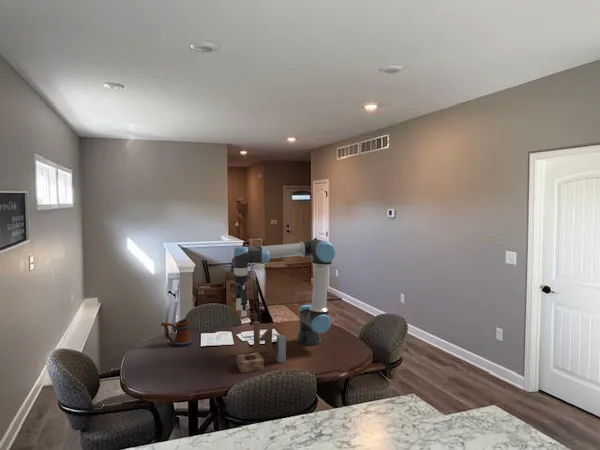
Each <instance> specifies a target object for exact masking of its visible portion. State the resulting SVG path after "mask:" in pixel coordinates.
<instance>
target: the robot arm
mask: <svg viewBox="0 0 600 450" xmlns="http://www.w3.org/2000/svg"><path fill="white" fill-rule="evenodd" d="M299 256H300V257H301V258H306V257H307V258H311V259H312V260H311V264H312V265H313V280H312V294H311V295H312V298H311V304H303V305H302V304H301V306H300V307H299V311H298V312H299V314H298V315H299V317H298V318H299V319H298V321H299V326H298V327H299V328H298V332H297V336H296V341H295V342H296V343H297V344H299V345H303V346H315V345H319V344H320V343H321V335H320V334H324V333H326V332H327V331H328V330H329V329H330V328H331V324H332V323H331V318H330V316H329V308H328V307H327V298H328V297H327V296H328V283H329V270H330V269H329V268H330V266H331V265H333V264H332V261H333V260H334V259H335V257H336V248H335V246H334V245H333V244H332V243H331V242H329V241H326V240H320V239H311V240H303V241H299V243H287V244H286V243H285V244H273V245H262V246H235V247H234V249H233V267H234V268H233V269H232V271H233V273H234V275H233V277H234V278H233V280H234V281H233V282H234V283H236V286H235V287H236V288H235V294H234V295H235V298H236V299H235V300H236V301H235V302H236V303H235V304H236V306H235V307H236V308H235V309H236V311H240V312H241V313H240V316H241V317H247V315H248V314H247V305H248V295H247V285H245V283H248V281H249V264H264V263H265V264H266V263H268V262H269V261H270V259H277V258H278V259H279V258H287V257H299Z"/></svg>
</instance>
